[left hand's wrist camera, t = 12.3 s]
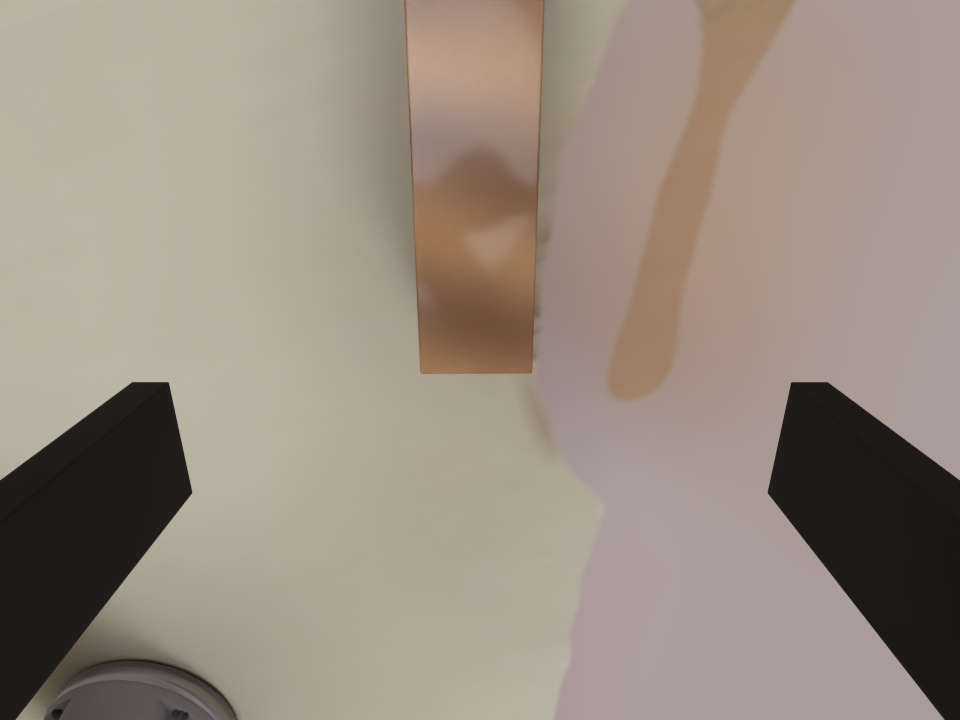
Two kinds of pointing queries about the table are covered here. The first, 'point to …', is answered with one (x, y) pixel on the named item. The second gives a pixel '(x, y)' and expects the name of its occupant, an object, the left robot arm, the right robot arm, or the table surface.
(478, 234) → the bar
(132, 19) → the table surface
